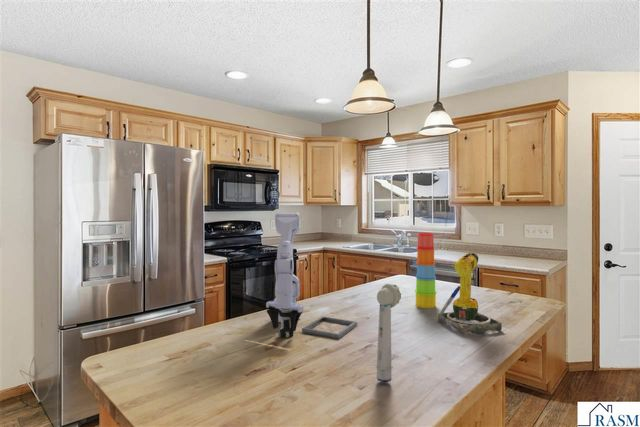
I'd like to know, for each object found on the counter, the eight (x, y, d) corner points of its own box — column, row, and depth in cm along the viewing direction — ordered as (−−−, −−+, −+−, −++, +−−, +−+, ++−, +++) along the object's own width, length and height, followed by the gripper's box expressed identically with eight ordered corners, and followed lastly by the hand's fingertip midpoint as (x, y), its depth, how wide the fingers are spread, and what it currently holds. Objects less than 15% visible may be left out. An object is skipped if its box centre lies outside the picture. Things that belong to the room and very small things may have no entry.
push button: (278, 340, 124) (278, 311, 124) (272, 335, 129) (272, 308, 129) (295, 337, 128) (295, 309, 128) (290, 332, 132) (289, 305, 132)
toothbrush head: (371, 378, 96) (371, 285, 96) (386, 370, 101) (386, 281, 101) (387, 385, 92) (387, 288, 92) (402, 376, 97) (402, 284, 97)
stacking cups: (441, 308, 166) (441, 233, 165) (427, 311, 160) (427, 234, 160) (424, 303, 174) (424, 232, 174) (409, 306, 168) (409, 232, 168)
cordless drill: (507, 331, 133) (506, 256, 133) (462, 335, 129) (461, 258, 129) (474, 317, 151) (474, 252, 151) (434, 321, 146) (433, 253, 147)
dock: (302, 332, 133) (302, 328, 132) (323, 320, 148) (323, 316, 148) (338, 339, 126) (338, 334, 126) (357, 325, 141) (357, 321, 141)
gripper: (261, 291, 128) (261, 329, 128) (295, 296, 121) (295, 336, 121) (272, 288, 134) (272, 324, 134) (306, 292, 128) (306, 330, 128)
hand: (284, 329), depth 128 cm, fingers open, 7 cm apart
